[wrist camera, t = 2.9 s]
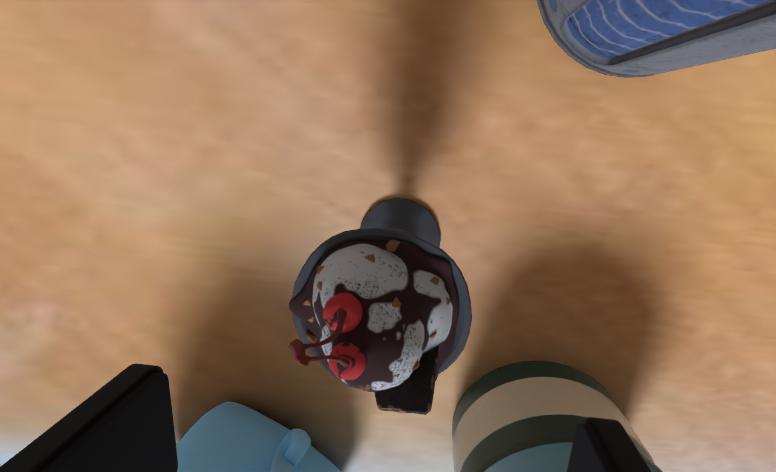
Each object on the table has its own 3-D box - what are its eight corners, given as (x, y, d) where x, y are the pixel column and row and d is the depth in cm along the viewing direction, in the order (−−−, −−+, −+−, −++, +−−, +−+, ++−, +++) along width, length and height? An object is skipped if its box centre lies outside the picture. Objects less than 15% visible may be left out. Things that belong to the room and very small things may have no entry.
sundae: (352, 174, 23) (231, 257, 9) (464, 195, 23) (524, 316, 9) (337, 276, 25) (218, 479, 11) (441, 297, 25) (459, 533, 11)
